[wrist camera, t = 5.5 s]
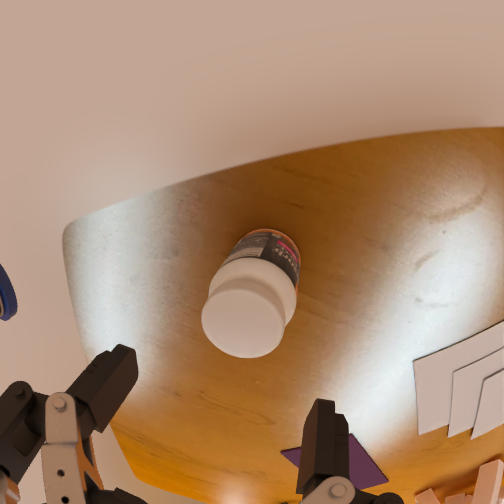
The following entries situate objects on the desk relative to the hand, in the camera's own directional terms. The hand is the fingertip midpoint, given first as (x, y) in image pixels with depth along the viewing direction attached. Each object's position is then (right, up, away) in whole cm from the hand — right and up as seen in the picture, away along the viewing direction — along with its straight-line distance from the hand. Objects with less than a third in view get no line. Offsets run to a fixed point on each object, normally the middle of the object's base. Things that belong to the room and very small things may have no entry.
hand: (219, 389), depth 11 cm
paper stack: (+34, -13, +14) cm, 39 cm away
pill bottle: (+3, +5, +14) cm, 15 cm away
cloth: (+16, -30, +24) cm, 42 cm away
